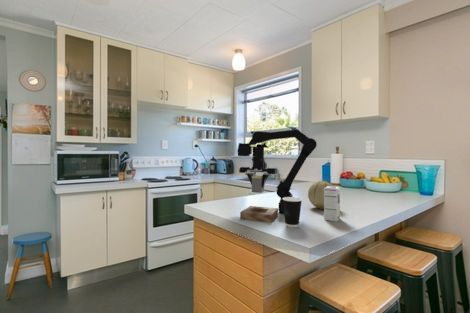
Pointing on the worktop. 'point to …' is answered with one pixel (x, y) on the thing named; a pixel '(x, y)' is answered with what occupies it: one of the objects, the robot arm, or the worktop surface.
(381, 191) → the worktop surface
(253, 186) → the plug
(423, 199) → the worktop surface
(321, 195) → the cantaloupe
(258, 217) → the socket block
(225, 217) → the worktop surface
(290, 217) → the dixie cup
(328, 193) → the syrup box
